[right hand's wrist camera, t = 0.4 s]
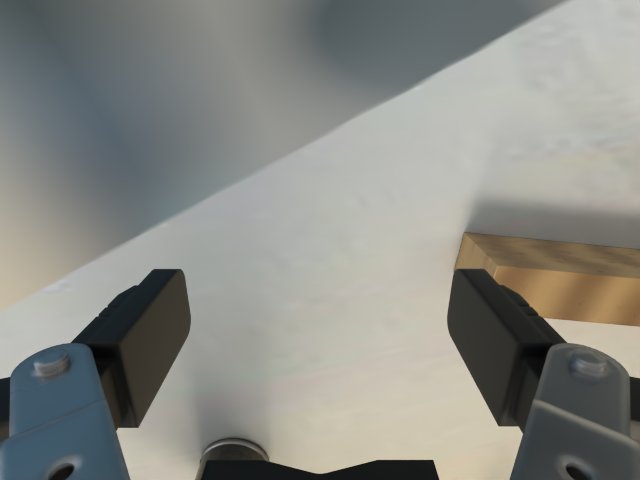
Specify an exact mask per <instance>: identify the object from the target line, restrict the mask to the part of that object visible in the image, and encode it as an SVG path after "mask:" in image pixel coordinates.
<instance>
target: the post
mask: <svg viewBox="0 0 640 480" xmlns="http://www.w3.org/2000/svg"><path fill="white" fill-rule="evenodd" d="M456 269H485V270H486V271H487V272H488V273H489V274H490V275H491V276H492V277H493V279H494V280H495V281H496V282H497V283H498V284H499V285H504V286H506V287H508V288H509V289H511V290H513V291H515V292H517V293H518V294H520V295H521V296H522V297H523V298H524V299H525V300H526V301H527V302H528V303H529V305H530V307H532V308H533V309H534V310H535V311H536V312H537V313H538V315H539V316H541V317H542V318H550V319H561V320H573V321H584V322H595V323H606V324H617V325H628V326H639V327H640V250H638V249H628V248H618V247H608V246H597V245H587V244H577V243H567V242H556V241H546V240H536V239H526V238H515V237H505V236H495V235H485V234H474V233H464V236H463V239H462V243H461V247H460V251H459V255H458V258H457V262H456V266H455V270H456ZM455 270H454V272H455Z"/></svg>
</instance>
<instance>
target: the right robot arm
mask: <svg viewBox="0 0 640 480" xmlns="http://www.w3.org/2000/svg"><path fill="white" fill-rule="evenodd" d="M447 323H448V330H449V333H450V336H451V338H452V340H453V342H454V343H455V345H456V347H457V349H458V351H459V353H460V355H461V357H462V358H463V360H464V362H465V364H466V366H467V368H468V370H469V372H470V373H471V375H472V377H473V379H474V381H475V383H476V385H477V387H478V388H479V390H480V392H481V394H482V396H483V398H484V400H485V402H486V403H487V405H488V407H489V409H490V411H491V413H492V415H493V417H494V418H495V420H496V422H497V424H498V426H519V428H520V429H521V431H522V433H523V436H522V440H521V443H520V447H519V450H518V453H517V457H516V460H515V463H514V467H513V470H512V473H511V477H510V480H640V378H635V377H630V376H629V374H628V372H627V371H626V369H625V368H624V367H623V366H622V365H621V364H620V363H619V362H617V361H616V360H615V359H613V358H612V357H610V356H608V355H607V354H605V353H603V352H601V351H598V350H596V349H593V348H590V347H587V346H584V345H579V344H572V343H567V342H566V341H565V340H564V339H563V338H562V337H561V336H560V335H559V334H558V333H557V332H556V331H555V330H554V329H553V328H552V327H551V326H550V325H549V324H548V323H547V322H546V321H545V320H544V319H543V318H542V317H541V316H539V315H538V313H537V312H536V311H535V310H534V309H533V308H532V307H530V305H529V303H528V302H527V301H526V300H525V299H524V298H523V297H522V296H521V295H520V294H518V293H517V292H515V291H513V290H511V289H509V288H508V287H506V286H504V285H499V284H498V283H497V282H496V281H495V280H494V279H493V277H492V276H491V275H490V274H489V273H488V272H487V271H486V270H485V269H456V270H455V272H454V275H453V281H452V287H451V294H450V301H449V308H448V315H447ZM190 324H191V315H190V308H189V301H188V295H187V288H186V281H185V276H184V273H183V271H182V270H181V269H154V270H152V271H151V272H150V273H149V274H148V276H147V277H146V278H145V279H144V280H143V281H142V282H141V283H140V284H139V285H138V286H133V287H131V288H129V289H128V290H126V291H124V292H122V293H120V294H119V295H118V296H117V297H116V298H115V299H114V300H113V301H112V302H111V303H110V304H109V305H108V308H105V309H104V310H103V311H102V312H101V313H100V314H99V317H96V318H95V319H94V320H93V321H92V322H91V323H90V324H89V325H88V326H87V327H86V328H85V329H84V330H83V331H82V332H81V333H80V334H79V335H78V336H77V337H76V338H75V339H74V340H73V341H72V342H71V343H68V344H61V345H56V346H53V347H50V348H47V349H44V350H42V351H39V352H37V353H35V354H33V355H32V356H30V357H28V358H27V359H25V360H24V361H23V362H21V363H20V364H19V365H18V366H17V367H16V368H15V369H14V371H13V372H12V374H11V377H8V378H3V379H0V480H130V477H129V473H128V470H127V467H126V463H125V460H124V457H123V453H122V450H121V447H120V443H119V440H118V436H117V433H116V430H117V429H118V428H138V427H139V426H140V424H141V422H142V420H143V418H144V416H145V414H146V413H147V411H148V409H149V407H150V405H151V403H152V401H153V400H154V398H155V396H156V394H157V392H158V390H159V389H160V387H161V385H162V383H163V381H164V379H165V377H166V376H167V374H168V372H169V370H170V368H171V366H172V364H173V363H174V361H175V359H176V357H177V355H178V353H179V351H180V350H181V348H182V346H183V344H184V342H185V340H186V339H187V337H188V334H189V331H190ZM195 480H439V477H438V474H437V471H436V468H435V464H434V461H433V460H376V461H372V462H368V463H364V464H360V465H356V466H353V467H349V468H345V469H341V470H337V471H333V472H329V473H325V474H315V473H311V472H307V471H303V470H299V469H295V468H291V467H287V466H284V465H280V464H276V463H272V462H269V460H268V457H267V455H266V454H265V452H264V451H263V450H262V449H261V448H260V447H258V446H257V445H255V444H253V443H251V442H249V441H245V440H241V439H224V440H219V441H217V442H214V443H212V444H211V445H209V446H208V447H207V448H206V449H205V451H204V452H203V454H202V457H201V460H200V466H199V469H198V472H197V475H196V478H195Z"/></svg>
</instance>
